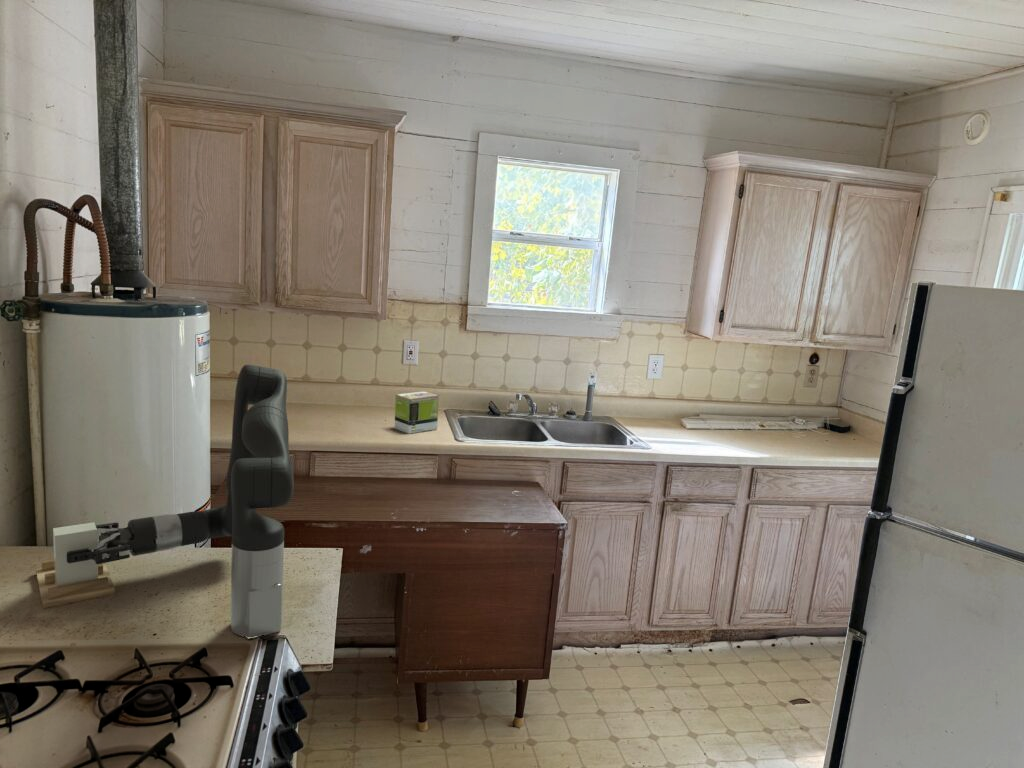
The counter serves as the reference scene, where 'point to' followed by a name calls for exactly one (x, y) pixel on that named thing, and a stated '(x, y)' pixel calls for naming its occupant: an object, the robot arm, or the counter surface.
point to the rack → (71, 586)
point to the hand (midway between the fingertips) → (64, 549)
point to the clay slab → (71, 541)
